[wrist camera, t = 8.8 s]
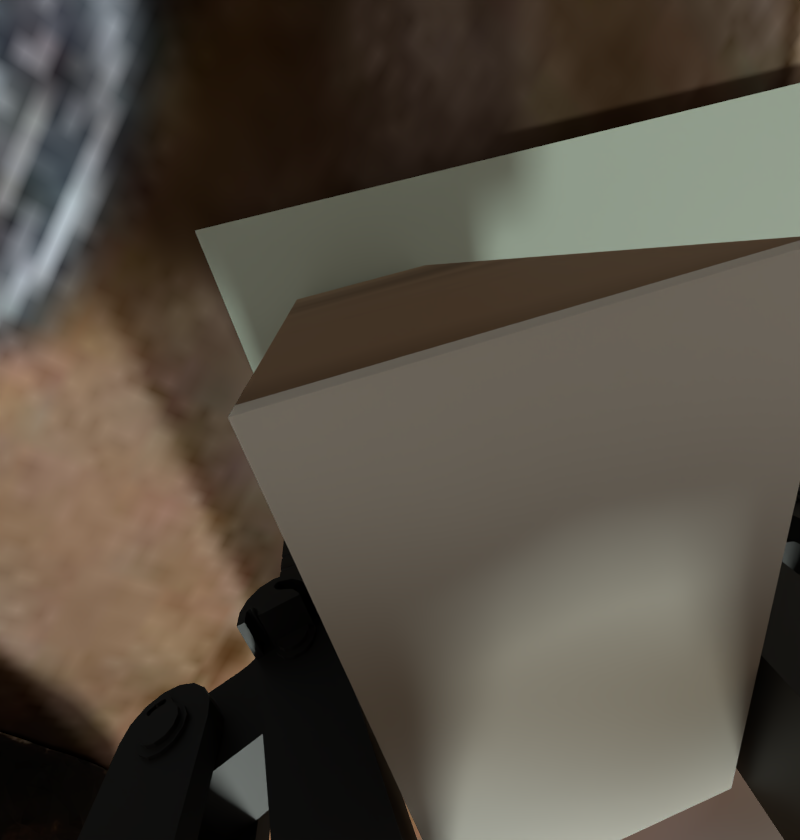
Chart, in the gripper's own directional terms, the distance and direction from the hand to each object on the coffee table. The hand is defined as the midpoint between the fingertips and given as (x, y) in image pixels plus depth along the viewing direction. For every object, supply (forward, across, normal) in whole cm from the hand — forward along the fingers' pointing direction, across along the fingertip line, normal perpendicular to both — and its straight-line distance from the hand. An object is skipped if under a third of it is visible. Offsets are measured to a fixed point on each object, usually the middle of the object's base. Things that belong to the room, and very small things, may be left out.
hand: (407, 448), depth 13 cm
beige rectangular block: (0, 0, +2) cm, 2 cm away
